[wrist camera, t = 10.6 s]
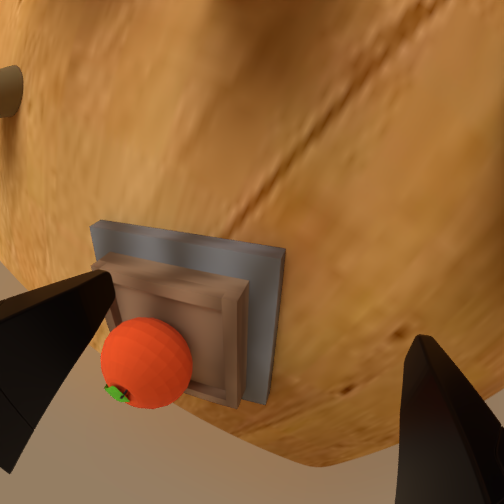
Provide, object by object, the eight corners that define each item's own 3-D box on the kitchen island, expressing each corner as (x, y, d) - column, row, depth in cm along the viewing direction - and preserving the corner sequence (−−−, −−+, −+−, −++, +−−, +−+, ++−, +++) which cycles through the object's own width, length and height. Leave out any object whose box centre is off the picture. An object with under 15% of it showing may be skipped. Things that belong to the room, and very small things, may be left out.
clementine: (163, 371, 26) (125, 427, 20) (114, 316, 25) (64, 368, 18) (224, 355, 22) (186, 429, 16) (166, 286, 21) (106, 352, 15)
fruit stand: (285, 248, 20) (271, 280, 17) (269, 393, 28) (258, 425, 24) (100, 219, 24) (69, 238, 21) (132, 351, 31) (113, 374, 28)
